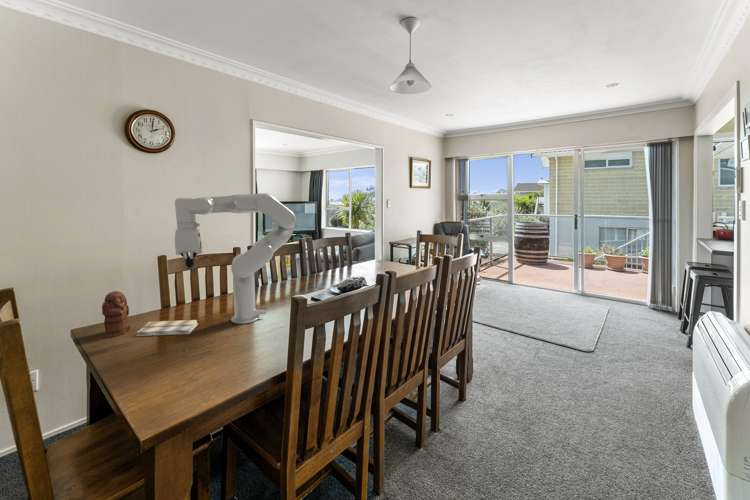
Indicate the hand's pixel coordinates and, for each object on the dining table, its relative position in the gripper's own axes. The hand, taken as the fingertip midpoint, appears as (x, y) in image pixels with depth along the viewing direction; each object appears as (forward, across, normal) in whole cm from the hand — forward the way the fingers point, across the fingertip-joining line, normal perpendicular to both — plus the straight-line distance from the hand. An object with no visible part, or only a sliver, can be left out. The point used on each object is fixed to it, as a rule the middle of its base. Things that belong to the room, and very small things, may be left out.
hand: (190, 267), depth 161 cm
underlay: (+26, +9, +6) cm, 29 cm away
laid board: (+26, +9, +9) cm, 29 cm away
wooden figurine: (+26, +29, +6) cm, 40 cm away
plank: (+26, +9, +3) cm, 28 cm away
